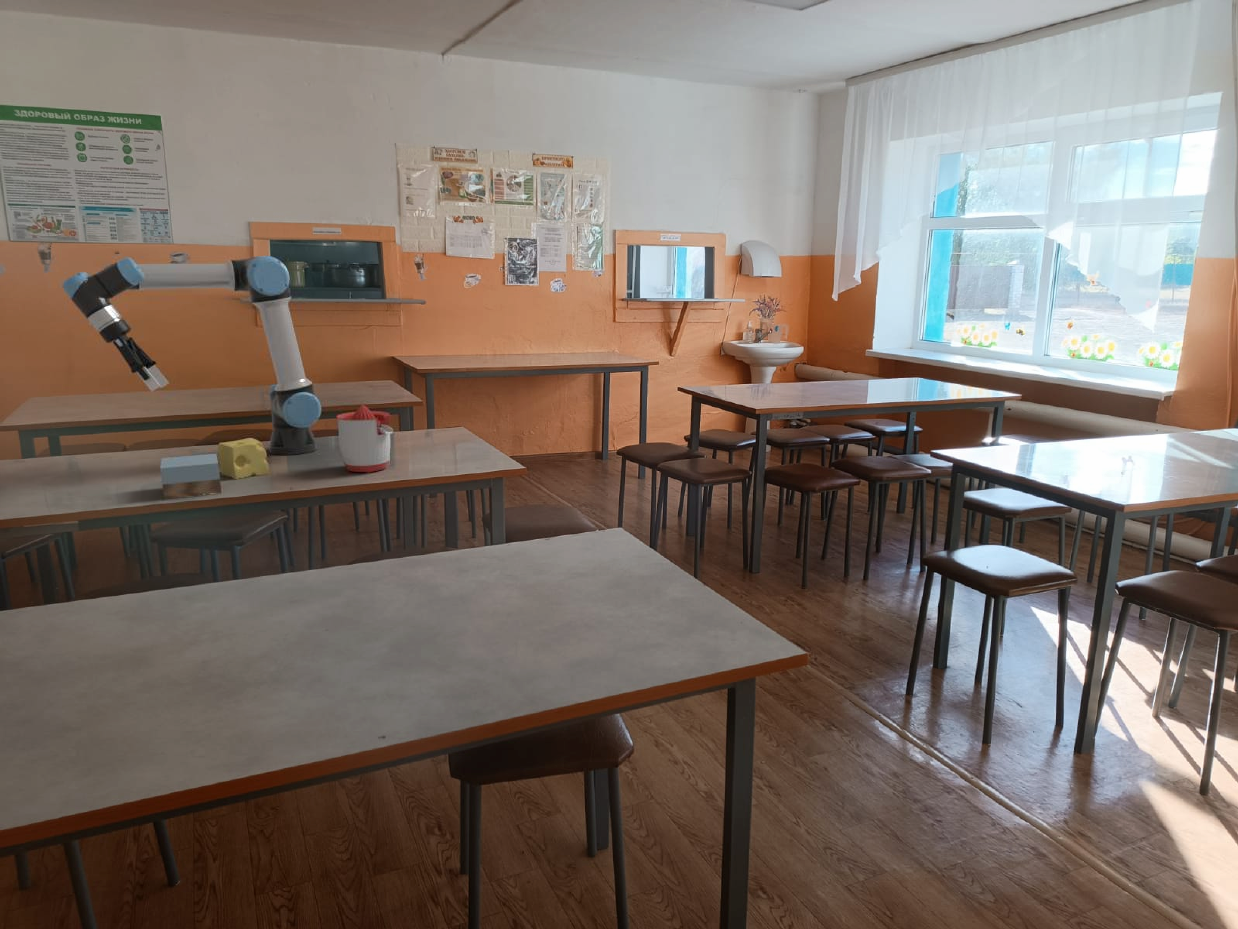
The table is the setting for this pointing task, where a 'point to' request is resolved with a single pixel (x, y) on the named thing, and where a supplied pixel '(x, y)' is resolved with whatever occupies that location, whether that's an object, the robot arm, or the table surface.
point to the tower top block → (189, 469)
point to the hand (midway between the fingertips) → (160, 387)
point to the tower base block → (191, 489)
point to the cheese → (242, 458)
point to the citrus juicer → (364, 439)
